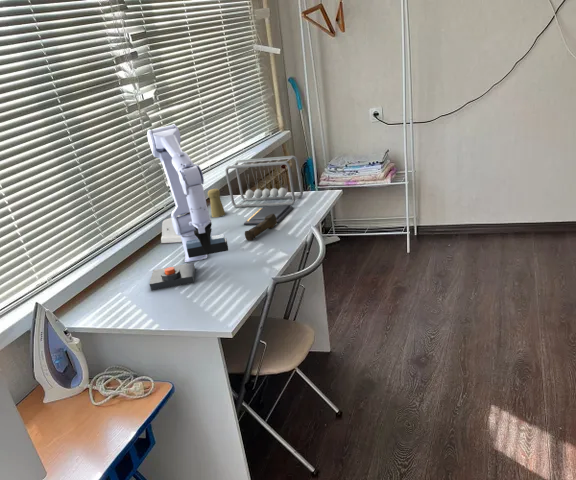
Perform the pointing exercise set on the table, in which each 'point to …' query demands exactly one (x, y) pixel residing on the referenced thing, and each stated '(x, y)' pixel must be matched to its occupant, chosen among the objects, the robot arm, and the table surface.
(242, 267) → the table surface
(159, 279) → the control box
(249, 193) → the newton's cradle
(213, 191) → the cork
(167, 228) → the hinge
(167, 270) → the button
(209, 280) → the table surface
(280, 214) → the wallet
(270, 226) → the hand tool
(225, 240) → the black and grey bar
